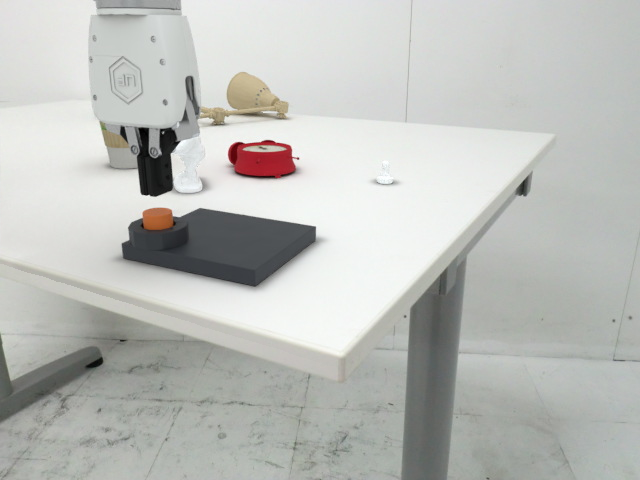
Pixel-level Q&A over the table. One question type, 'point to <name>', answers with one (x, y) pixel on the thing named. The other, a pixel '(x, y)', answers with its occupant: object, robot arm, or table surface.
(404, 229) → the table surface
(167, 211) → the button
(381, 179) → the chess pawn
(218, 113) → the desk lamp
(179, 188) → the figurine
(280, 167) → the alarm clock
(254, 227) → the scale
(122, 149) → the coffee cup
